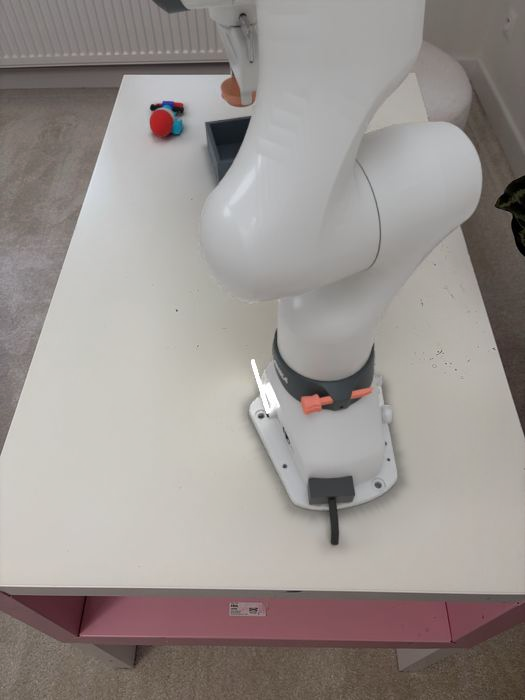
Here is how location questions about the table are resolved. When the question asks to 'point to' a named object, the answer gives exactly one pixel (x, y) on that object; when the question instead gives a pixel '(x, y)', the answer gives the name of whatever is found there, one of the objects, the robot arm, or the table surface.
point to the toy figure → (166, 118)
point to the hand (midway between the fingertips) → (240, 90)
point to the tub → (225, 142)
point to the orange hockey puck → (233, 93)
